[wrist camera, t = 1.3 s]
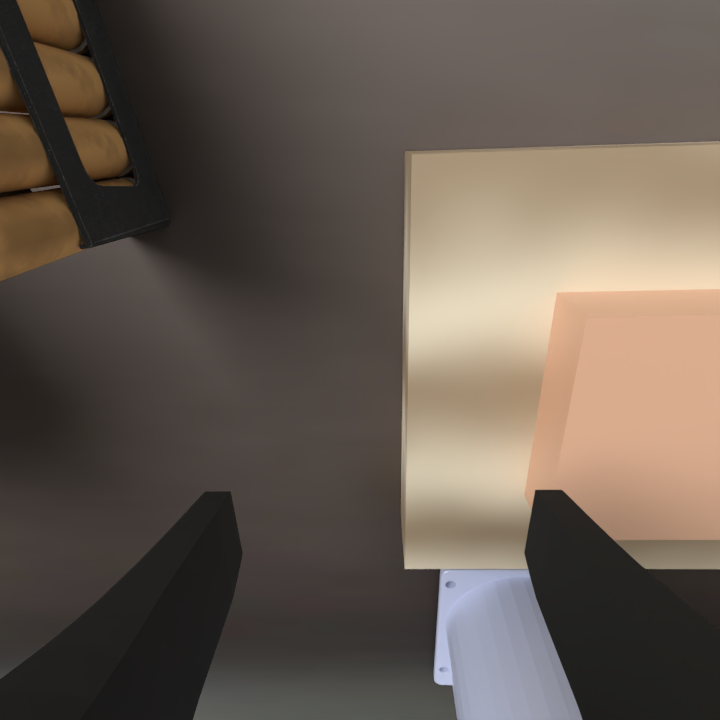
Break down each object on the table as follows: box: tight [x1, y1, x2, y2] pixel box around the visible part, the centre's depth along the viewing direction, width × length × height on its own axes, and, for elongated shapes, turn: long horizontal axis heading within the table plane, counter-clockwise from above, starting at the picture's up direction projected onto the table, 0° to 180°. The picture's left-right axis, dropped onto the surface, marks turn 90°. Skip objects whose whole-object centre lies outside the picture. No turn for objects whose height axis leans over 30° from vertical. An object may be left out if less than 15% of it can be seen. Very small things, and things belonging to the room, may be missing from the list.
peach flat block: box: [524, 289, 720, 540], centre depth 15 cm, size 8×8×2 cm
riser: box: [401, 141, 720, 569], centre depth 17 cm, size 16×14×3 cm
